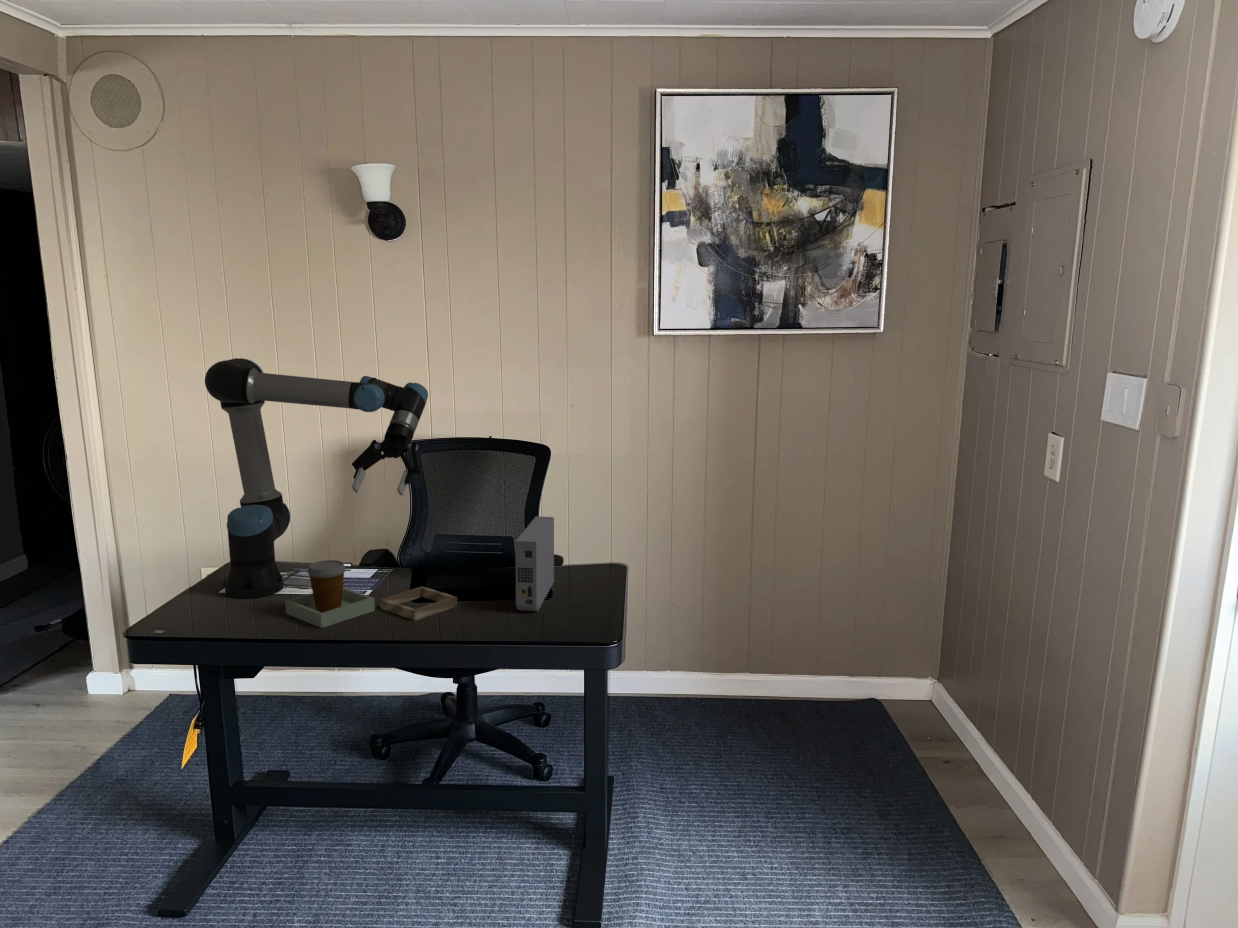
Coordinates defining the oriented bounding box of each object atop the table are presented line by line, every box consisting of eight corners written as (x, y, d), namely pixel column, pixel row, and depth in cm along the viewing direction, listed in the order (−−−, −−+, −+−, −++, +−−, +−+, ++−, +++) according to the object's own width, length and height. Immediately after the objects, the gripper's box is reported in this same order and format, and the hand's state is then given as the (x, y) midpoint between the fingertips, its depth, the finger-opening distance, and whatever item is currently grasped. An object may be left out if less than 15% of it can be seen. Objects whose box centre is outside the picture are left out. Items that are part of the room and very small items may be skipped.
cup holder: (380, 608, 222) (379, 599, 222) (422, 594, 234) (422, 586, 233) (415, 620, 214) (414, 611, 213) (457, 605, 225) (457, 596, 225)
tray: (286, 613, 218) (285, 600, 217) (339, 597, 230) (338, 585, 230) (321, 627, 208) (320, 614, 208) (374, 610, 221) (374, 597, 220)
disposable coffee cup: (333, 600, 226) (330, 557, 223) (355, 607, 220) (353, 563, 218) (301, 609, 218) (299, 565, 216) (323, 617, 212) (321, 572, 210)
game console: (555, 582, 246) (555, 516, 243) (537, 614, 219) (537, 541, 216) (536, 581, 247) (535, 516, 243) (516, 613, 220) (515, 541, 216)
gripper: (445, 439, 240) (423, 501, 228) (367, 435, 245) (341, 495, 234) (437, 423, 234) (414, 486, 222) (357, 420, 239) (330, 481, 228)
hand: (377, 491), depth 228 cm, fingers open, 13 cm apart
